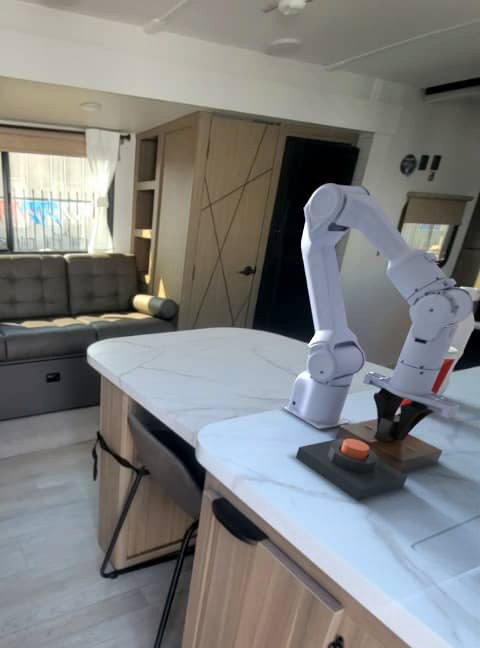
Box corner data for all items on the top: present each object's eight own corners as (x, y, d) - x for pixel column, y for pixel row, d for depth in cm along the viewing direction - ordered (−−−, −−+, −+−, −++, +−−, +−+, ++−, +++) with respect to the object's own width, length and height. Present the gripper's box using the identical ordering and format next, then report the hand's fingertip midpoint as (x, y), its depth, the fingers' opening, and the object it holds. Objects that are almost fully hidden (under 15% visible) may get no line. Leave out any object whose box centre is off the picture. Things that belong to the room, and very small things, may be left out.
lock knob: (384, 442, 71) (393, 421, 69) (374, 436, 73) (382, 416, 71) (404, 438, 73) (412, 417, 71) (393, 432, 74) (401, 412, 73)
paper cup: (385, 397, 95) (407, 339, 89) (420, 400, 94) (445, 342, 88) (403, 412, 88) (428, 351, 82) (441, 415, 87) (470, 354, 81)
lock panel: (336, 437, 77) (340, 425, 76) (373, 429, 80) (377, 417, 79) (397, 473, 67) (403, 460, 66) (437, 462, 70) (443, 449, 69)
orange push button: (335, 449, 66) (338, 440, 66) (351, 446, 68) (354, 437, 67) (355, 461, 63) (358, 452, 63) (371, 457, 65) (375, 448, 64)
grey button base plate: (295, 457, 70) (301, 438, 69) (337, 448, 74) (344, 429, 72) (357, 501, 60) (365, 479, 59) (402, 487, 64) (412, 466, 62)
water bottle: (432, 402, 93) (481, 292, 82) (399, 390, 99) (441, 285, 88) (448, 396, 96) (497, 290, 85) (416, 385, 102) (458, 284, 91)
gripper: (485, 377, 62) (448, 452, 68) (393, 348, 74) (369, 413, 80) (455, 382, 59) (420, 459, 65) (365, 351, 72) (342, 418, 78)
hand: (390, 434), depth 72 cm, fingers closed
